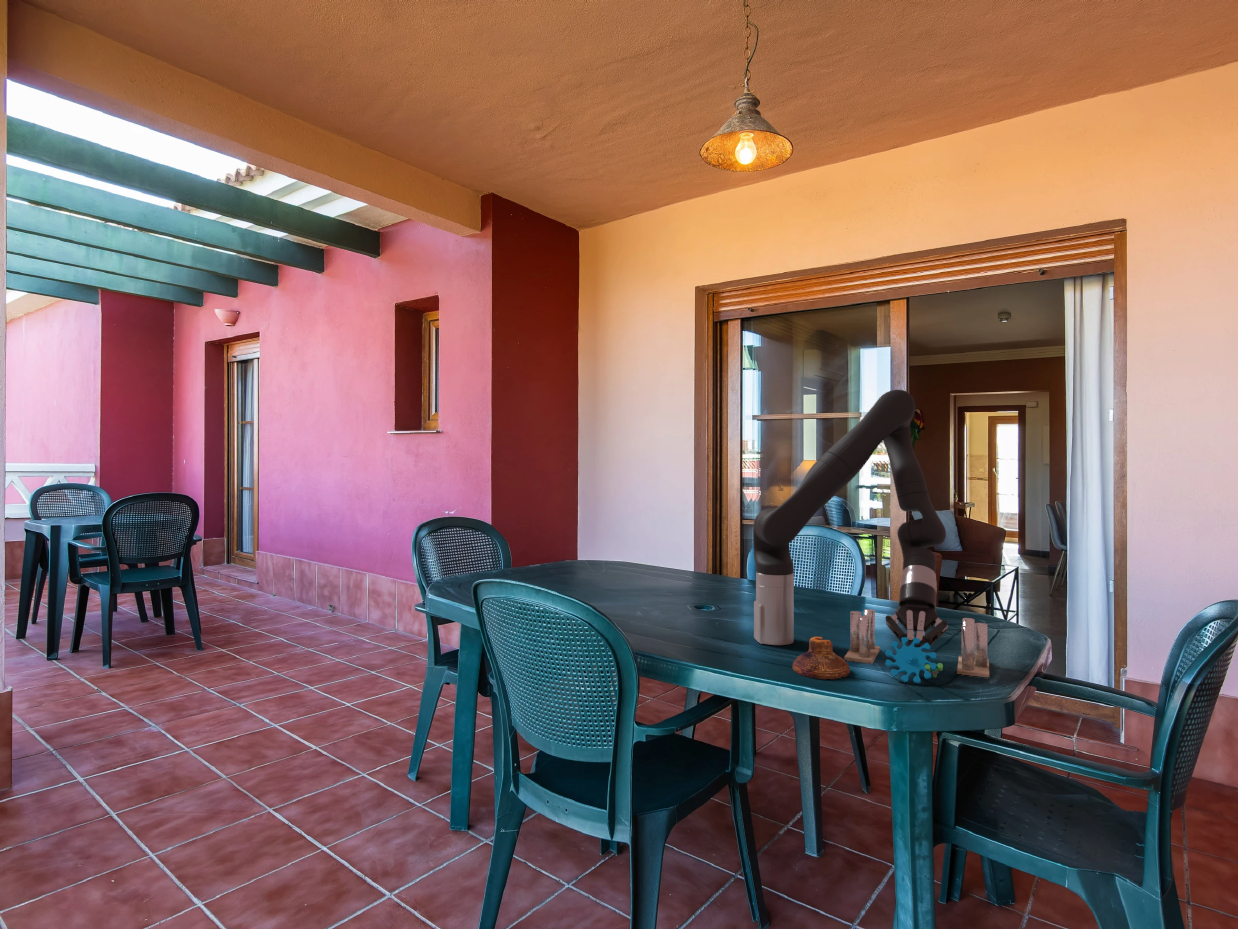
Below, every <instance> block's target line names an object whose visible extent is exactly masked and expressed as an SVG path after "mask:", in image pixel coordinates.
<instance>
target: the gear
mask: <svg viewBox="0 0 1238 929" xmlns="http://www.w3.org/2000/svg"><path fill="white" fill-rule="evenodd" d="M901 640H902V642H901V643H902V647H901V648H898V647H899V644H898V641H896V640H895V641H892V642H891V643H890V646H891V647H892V648H893V649H894V650H895V652H896V654H893V651H892V650H891V649H890V648H888V649H886V651H885V656H886V657H888V658H892V659H893V660H894V661H895V662H892V660H890V659H886V660H885V667H887V668H890V667H896V668H899V669H894V668H893V669H891V670H890V673H891V675H892V677H893V678H895V677H897V676H898V675H899V674H903V673H906V674H905V675H904V674H903V675H901V676H900V680H901V681H902V682H903V683H905V682H907V683H908V682H909V678H910V676H912V675H913V674H915V676H914V677H913V678H912V679H913V683H914V684H921V678H920V672H924V674H923V676H924V679H925V680H929V679H931V678H932V676H933V678H937V677H938V675H937V674H939V673H940V672H939V671H941V672H942V671H943V670H944V665H943V663H941V662H939V663H936V662H931V661H929V660H927V658H930V659H931V660H932V661H936V659H937V653H936V652H934V651H933V652H929V653H928V652H924V650H925V651H930V650H931V645H929V644H928V643H925V644H924V645H923V646H921V647H917V648H916V647H914V646H915V645H918V644H920V640H919V639H918V638H916V637H915V636H914V639H913V643H912V644H911V645H910V646H907V643H908V638H906V637H902V638H901Z"/></svg>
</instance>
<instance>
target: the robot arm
mask: <svg viewBox="0 0 1238 929" xmlns="http://www.w3.org/2000/svg"><path fill="white" fill-rule="evenodd" d="M915 412H916V403H915V399H914V397H913V395H911V394H910V392H908V391H907V390H904V389H893V390H890V391H887V392H885V393H883V394H882V395H881V396H880V397H878V399H877V401H875V403H874V404H873V405H872V407H871V408H870V409H869V410H868V411H867V413H866V414H865V415H864V416H863V417H862V419H861V420H860V421H859V422H858V423H857V424H855V425H854V427H853V428H851V429H849V431H848V432H847V433H846V434H844V435H843V436H842V437H841V438H840V439H838V441H836V442H835V443H834V444H833V445H832V446H831V447H830V448H829V449H828V450H826V452H824V454H823V455H821V456H820V457H819V458H818V459H817V460H816V461H815V462H814V464H813V465H812V466H811V467H810V469H809V470H808V472H807V473H806V474H805V476H804V478H803V479H802V481H801V483H800V484H799V486H798V487H797V488H796V490H795V491H794V492H793V493H792V494H791V495H790V497H788V499H786V500H784V502H783V503H781V504H780V505H778V507H776V508H774V507H769V508H765V509H762V510H761V511H760V512H759V513H758V514H757V515H756V516H755V518H754V520H753V527H752V528H753V530H752V532H753V534H752V538H753V539H752V540H753V557H754V558H753V560H754V563H755V572H756V573H755V578H756V579H755V600H754V601H753V639H755V640H756V642H757V643H758V642H759V643H760V645H763V644H764V645H770V646H771V645H772V646H785V645H786V646H787V645H790V644H791V645H792V644H793V643H794V638H795V633H794V631H795V630H794V624H795V623H794V622H795V621H794V620H795V618H794V614H795V613H794V609H795V608H794V597H795V596H794V589H795V588H794V584H795V583H794V571H795V570H794V569H795V568H794V561H793V560H792V557H791V553H790V544H791V543H792V542H793V541H794V540H795V539H796V537H797V536H798V535H799V534H800V533H801V531H802V530H803V529H804V528H805V526H806V525H807V523H808V522H810V520H811V519H812V518H813V517H814V516H815V514H816V513H817V512H818V511H820V509H822V507H824V506H825V505H826V504H827V503H828V502H830V501H831V500H832V499H833V498H834V497H835V496H836V495H837V494H838V493H839V492H840V491H842V489H843V488H845V486H846V485H848V484H849V483H850V482H851V481H852V480H853V479H854V478H855V477H856V476H857V475H858V473H859V472H860V471H861V470H862V469H863V467H865V465H866V463H867V462H868V461H869V459H870V458H871V456H872V455H873V454H874V452H875V451H876V450H877V448H878V447H879V446H880V444H881V443H882V442H883V444H884V446H885V450H886V452H887V457H888V461H889V464H890V468H891V474H892V479H893V480H892V481H893V484H894V489H895V493H896V497H897V498H896V499H897V503H898V506H899V508H900V509H901V511H903V512H909V513H910V512H918V513H920V515H921V518H917V519H913V520H908V521H906V522H905V521H904V522H903V523H902V524H900V526H899V527H898V529H897V533H896V534H897V539H898V542H899V545H900V547H901V548H900V549H901V553H902V560H903V561H902V573H901V577H900V583H899V595H898V596H899V598H898V608H897V609H896V610H895V613H894V614H893V615H889V614H886V615H885V623H886V626H887V627H888V628H889V630H891V632H892V633H893V635H895V637H896V638H897V640H898V641H899V642H900V643H902V640H901V638H902V637H906V638H908V643H907V644H906V646H910V645H911V644H912V643H913V639H914V638H915V632H916V638H918V639H919V640H920V644H918V645H915V646H914V647H916V648H917V647H921V646H923V645H924V644H925V643H928V644H929V645H930V646H931V645H933V644H934V643H935V642H936V641H937V640H938V639H940V637H942V636H943V635H944V634H945V633H946V632H947V631H948V630H949V628H948V627H949V626H948V621H947V620H945V619H944V620H942V619H941V618H939V615H938V613H937V593H938V589H937V586H938V583H937V557H936V556H937V555H936V554H935V553H934V552H933V551H932V550H931V549H928V548H930V547H931V548H932V547H935V546H940V545H942V544H943V543H944V542H945V540H946V537H947V536H946V535H947V531H946V528H945V525H944V523H943V521H942V520H941V518H940V517H939V515H938V513H937V511H936V510H935V508H934V505H933V503H932V502H931V501H932V500H931V499H930V495H929V491H928V487H927V483H926V477H925V476H924V475H925V474H924V473H923V469H922V467H921V464H920V463H919V460H918V458H917V456H916V454H915V450H914V448H913V443H912V437H911V422H912V420H913V418H914V415H915ZM898 621H899V622H898ZM898 623H900V624H901V626H903V629H905V630H907V632H906V633H905V631H903V629H902V628H901V627H900V625H899V624H898ZM933 626H934V627H933ZM932 627H933V628H932ZM931 628H932V629H931ZM930 629H931V630H930ZM927 631H929V632H927ZM926 632H927V633H926ZM759 643H758V644H759Z"/></svg>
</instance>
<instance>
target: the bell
mask: <svg viewBox="0 0 1238 929" xmlns="http://www.w3.org/2000/svg"><path fill="white" fill-rule="evenodd" d="M808 643H809V644H808V645H809V646H808V650H807V651H806V652H803V653H801V654H799V655H797V657H795V659H794V661H793V662H792V670H793V672H795V673H796V674H797V673H798V674H797V675H800V676H802V675H803V677H805V676H807V677H806V678H809V677H811V678H810V679H814V678H817V679H816V680H826V679H831V680H837V679H836V678H840V679H842V678H841V677H844V678H846V677H848V676H849V675H850V673H851V669H850V666H849V664H848V663H847V661H845V660H844V658H842V657H841V656H839V655H838V654H836V653H835V652H834V651H833V643H832V641H831V640H829V639H823V637H822V636H813V637H811V638H810V639H809V642H808ZM848 674H849V675H848ZM847 675H848V676H847Z"/></svg>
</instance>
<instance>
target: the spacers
mask: <svg viewBox="0 0 1238 929" xmlns="http://www.w3.org/2000/svg"><path fill="white" fill-rule="evenodd" d="M849 612H850V614H849V615H850V618H849V619H850V620H849V621H850V628H849V629H850V630H849V631H850V634H849V635H850V638H849V639H850V646H849V647H850V648H849V650H850V651H852V652H859V657H862V658H870V649H875V646H876V610H875V609H872V608H867V609H866V608H865V609H863V615H862V612H860V611H858V610H857V611H855V610H854V611H853V610H852V611H849ZM975 621H976V620H975V619H974V618H971V617H970V618H969V617H963V618H962V625H961V656H962V669H963V670H968V671H973V670H974V660H975V666H978V667H987V659H988V624H987V623H985V622H975Z"/></svg>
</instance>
